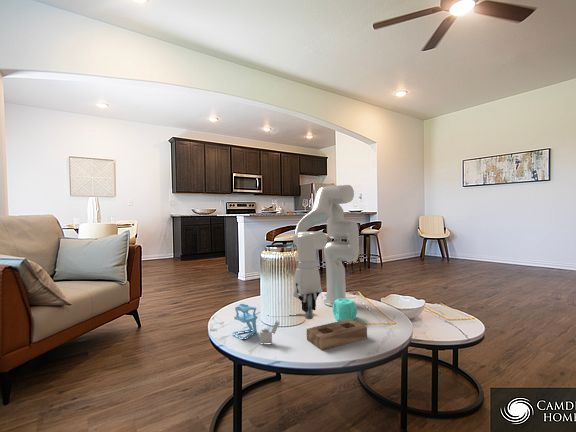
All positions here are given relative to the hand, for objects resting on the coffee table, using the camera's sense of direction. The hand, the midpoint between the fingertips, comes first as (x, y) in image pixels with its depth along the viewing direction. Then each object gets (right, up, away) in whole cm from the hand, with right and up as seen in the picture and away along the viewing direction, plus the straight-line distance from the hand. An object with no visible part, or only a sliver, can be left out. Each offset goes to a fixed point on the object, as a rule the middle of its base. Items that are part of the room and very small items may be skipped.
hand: (308, 309), depth 120 cm
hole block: (+10, -8, -9) cm, 15 cm away
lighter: (-15, -9, -11) cm, 21 cm away
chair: (-25, -9, -3) cm, 26 cm away
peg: (0, -3, 0) cm, 3 cm away
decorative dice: (+16, -8, +11) cm, 21 cm away
